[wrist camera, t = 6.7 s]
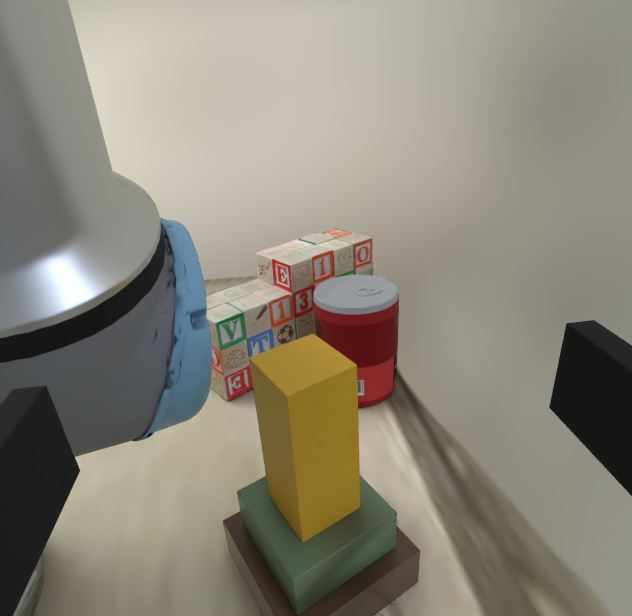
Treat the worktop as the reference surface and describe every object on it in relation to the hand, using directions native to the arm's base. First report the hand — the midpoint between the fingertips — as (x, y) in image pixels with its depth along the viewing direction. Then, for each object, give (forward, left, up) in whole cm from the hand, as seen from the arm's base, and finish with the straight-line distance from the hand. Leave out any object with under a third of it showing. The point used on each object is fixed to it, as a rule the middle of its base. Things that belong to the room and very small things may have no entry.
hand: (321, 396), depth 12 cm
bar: (+4, +9, -15) cm, 18 cm away
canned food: (+18, +23, -21) cm, 36 cm away
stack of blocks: (+16, +33, -21) cm, 42 cm away
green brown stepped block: (+4, +9, -21) cm, 23 cm away
